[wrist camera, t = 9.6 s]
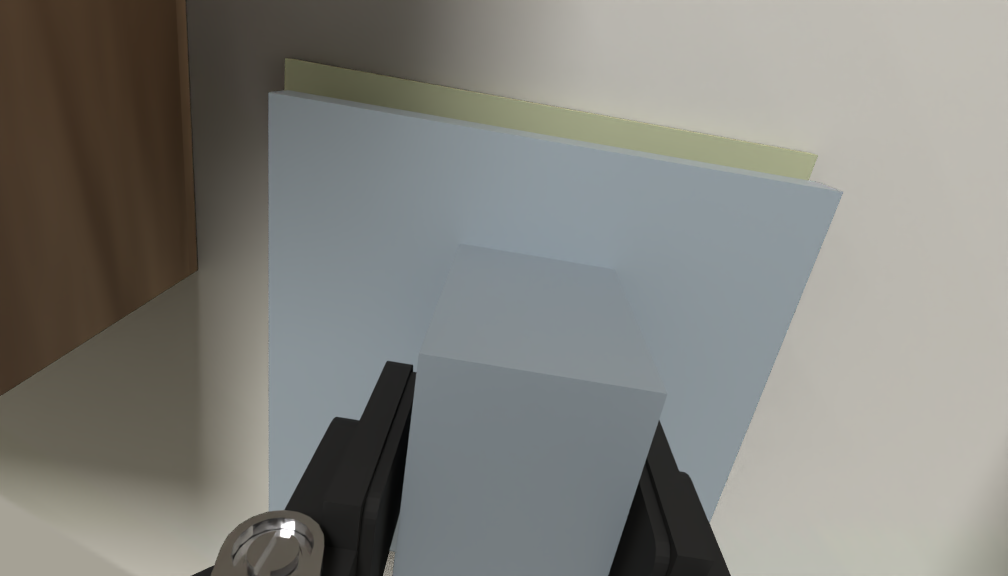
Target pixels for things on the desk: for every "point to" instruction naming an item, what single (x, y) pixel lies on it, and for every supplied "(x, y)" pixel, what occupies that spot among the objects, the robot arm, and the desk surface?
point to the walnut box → (90, 170)
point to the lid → (521, 320)
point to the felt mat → (542, 119)
